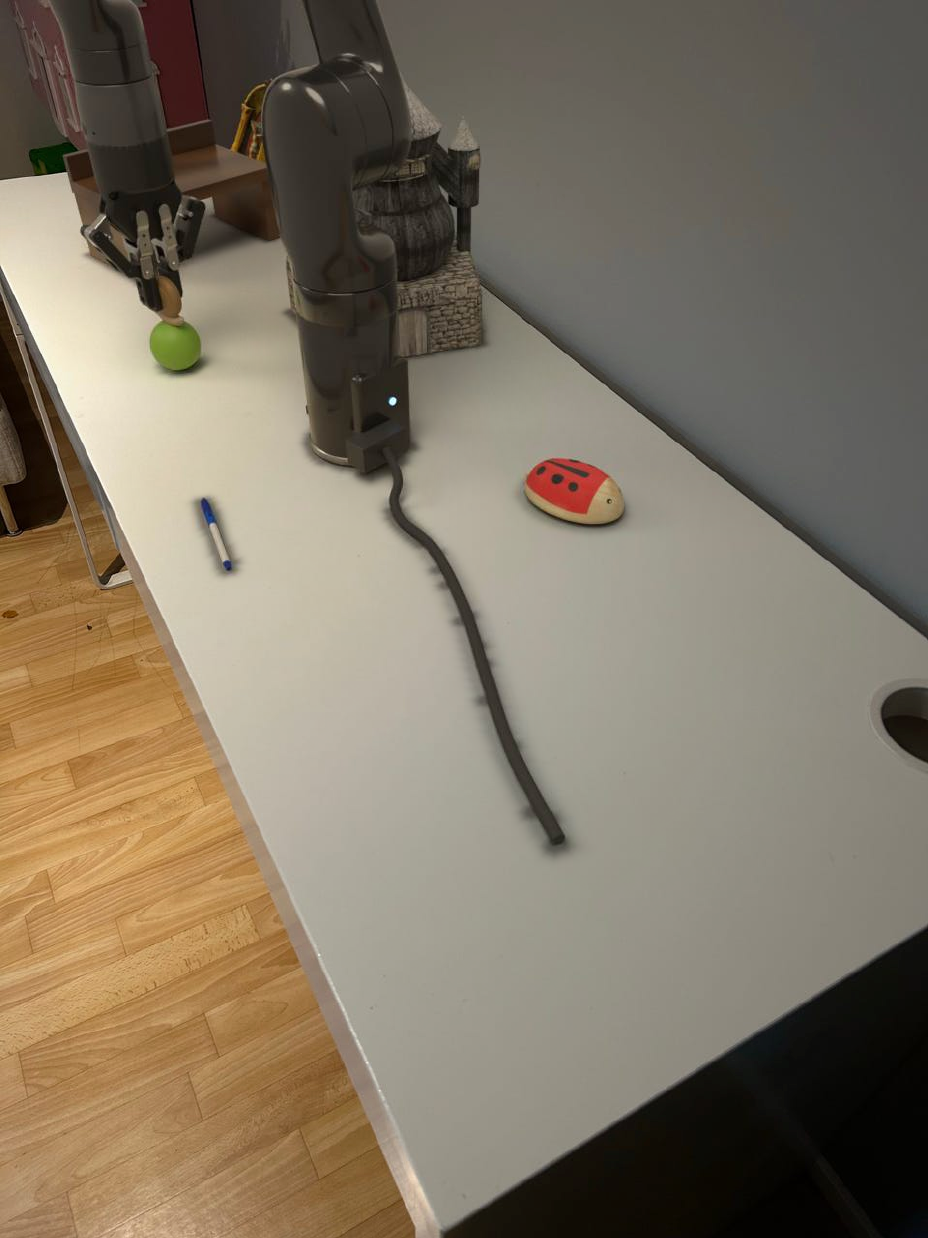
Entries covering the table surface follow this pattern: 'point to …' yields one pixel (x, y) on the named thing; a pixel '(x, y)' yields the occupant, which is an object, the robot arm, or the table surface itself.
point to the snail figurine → (173, 331)
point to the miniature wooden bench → (193, 182)
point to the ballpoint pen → (215, 533)
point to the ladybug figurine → (574, 491)
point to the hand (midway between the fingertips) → (164, 305)
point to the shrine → (251, 125)
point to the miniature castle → (429, 236)
